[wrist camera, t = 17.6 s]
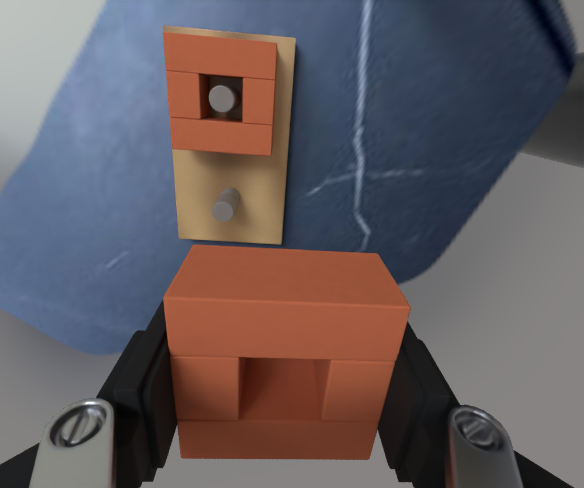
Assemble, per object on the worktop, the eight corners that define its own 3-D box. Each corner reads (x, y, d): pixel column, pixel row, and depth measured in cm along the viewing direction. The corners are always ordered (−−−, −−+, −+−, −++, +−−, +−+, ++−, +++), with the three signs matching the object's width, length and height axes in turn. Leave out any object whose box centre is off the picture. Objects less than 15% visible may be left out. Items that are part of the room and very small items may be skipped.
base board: (295, 41, 21) (298, 27, 17) (281, 237, 27) (281, 266, 23) (170, 29, 21) (139, 11, 16) (183, 231, 27) (163, 259, 22)
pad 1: (277, 49, 20) (277, 42, 17) (272, 149, 23) (271, 156, 20) (179, 40, 20) (162, 31, 17) (185, 142, 22) (171, 149, 20)
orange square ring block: (378, 252, 11) (412, 306, 8) (350, 385, 13) (369, 460, 10) (192, 243, 10) (161, 297, 8) (200, 381, 13) (179, 460, 10)
